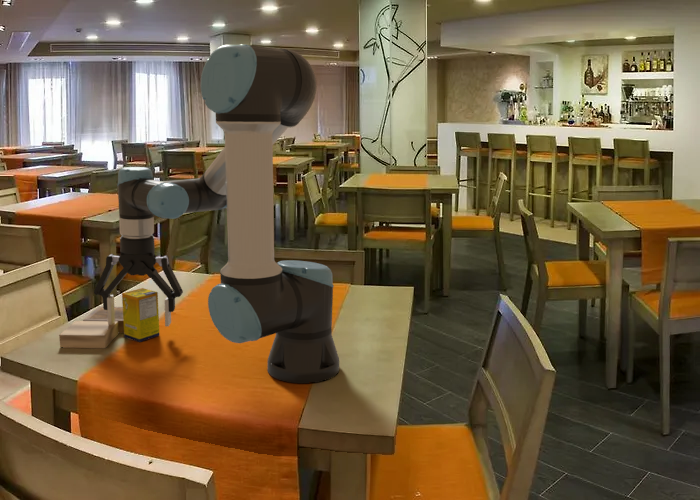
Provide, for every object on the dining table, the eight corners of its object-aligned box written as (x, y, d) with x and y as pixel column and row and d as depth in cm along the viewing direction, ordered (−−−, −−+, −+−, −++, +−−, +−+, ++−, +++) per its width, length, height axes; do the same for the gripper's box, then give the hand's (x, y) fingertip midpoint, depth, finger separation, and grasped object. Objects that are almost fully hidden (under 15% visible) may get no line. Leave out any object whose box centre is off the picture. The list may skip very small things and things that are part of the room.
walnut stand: (129, 332, 161) (129, 320, 161) (83, 332, 161) (82, 320, 160) (142, 318, 172) (141, 307, 172) (99, 317, 172) (98, 306, 171)
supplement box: (144, 330, 163) (142, 287, 161) (160, 336, 160) (158, 291, 158) (123, 337, 158) (121, 292, 156) (139, 342, 155) (137, 297, 153)
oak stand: (105, 348, 151) (104, 335, 151) (60, 347, 151) (59, 334, 150) (118, 333, 161) (118, 321, 160) (76, 332, 161) (75, 320, 160)
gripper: (194, 233, 158) (195, 320, 163) (88, 230, 157) (92, 317, 162) (188, 240, 151) (189, 330, 155) (76, 236, 150) (81, 327, 155)
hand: (139, 323), depth 159 cm, fingers open, 13 cm apart
